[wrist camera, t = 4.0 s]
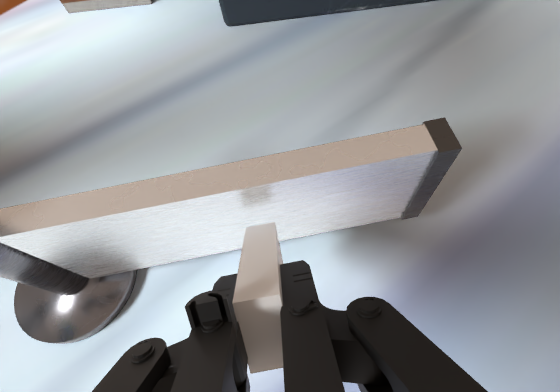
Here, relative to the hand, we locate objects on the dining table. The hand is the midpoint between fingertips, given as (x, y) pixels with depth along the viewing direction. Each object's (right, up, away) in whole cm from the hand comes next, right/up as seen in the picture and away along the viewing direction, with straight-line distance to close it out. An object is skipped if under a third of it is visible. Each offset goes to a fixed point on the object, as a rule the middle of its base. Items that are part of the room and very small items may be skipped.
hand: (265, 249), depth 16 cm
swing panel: (-1, 0, +4) cm, 4 cm away
